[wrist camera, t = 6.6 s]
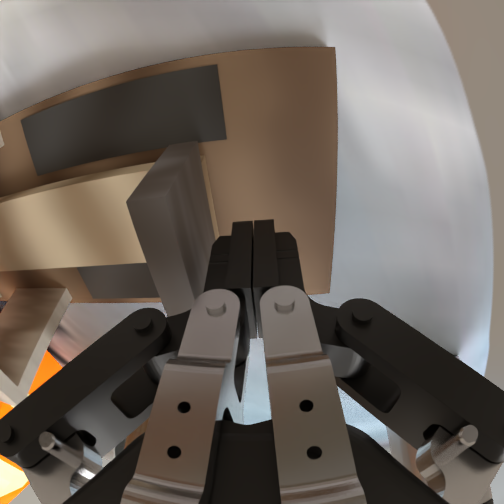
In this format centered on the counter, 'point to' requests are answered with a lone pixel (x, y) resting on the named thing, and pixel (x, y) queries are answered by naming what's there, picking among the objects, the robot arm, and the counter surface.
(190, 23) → the counter surface
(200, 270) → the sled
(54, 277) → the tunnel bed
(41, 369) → the orange juice
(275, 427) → the robot arm
